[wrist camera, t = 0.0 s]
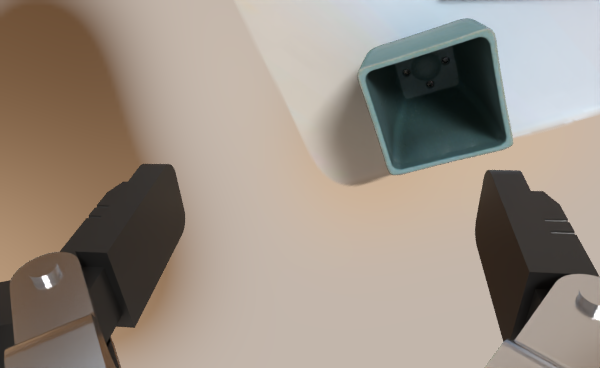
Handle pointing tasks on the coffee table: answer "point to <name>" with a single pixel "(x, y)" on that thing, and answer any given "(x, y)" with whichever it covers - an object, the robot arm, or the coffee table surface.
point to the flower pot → (437, 97)
